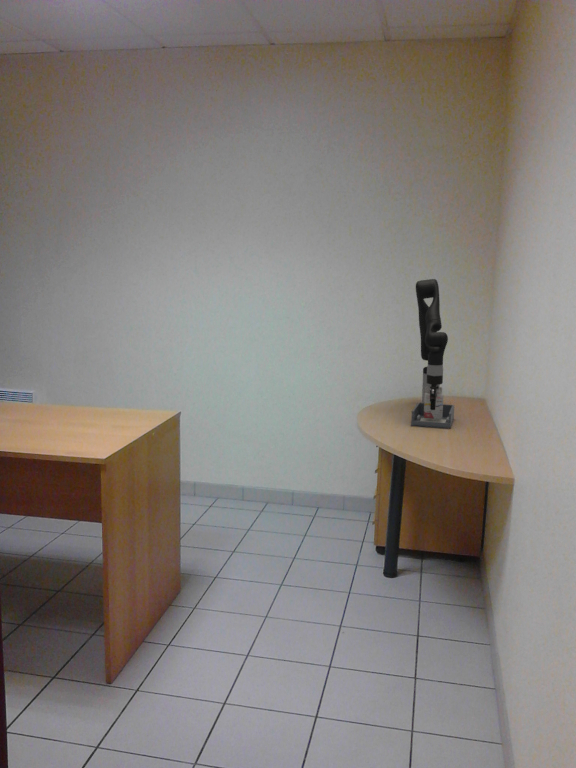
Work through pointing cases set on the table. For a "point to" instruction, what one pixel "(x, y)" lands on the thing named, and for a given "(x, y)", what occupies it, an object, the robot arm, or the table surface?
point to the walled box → (432, 422)
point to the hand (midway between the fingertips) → (433, 408)
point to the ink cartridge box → (438, 405)
